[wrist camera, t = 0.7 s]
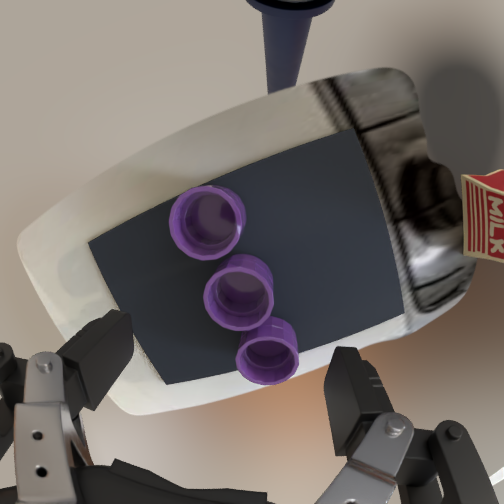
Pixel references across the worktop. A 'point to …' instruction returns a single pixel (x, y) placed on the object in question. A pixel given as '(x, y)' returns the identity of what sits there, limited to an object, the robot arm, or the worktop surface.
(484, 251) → the milk carton
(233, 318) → the purple hollow cup
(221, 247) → the purple hollow cylinder
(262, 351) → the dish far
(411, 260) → the worktop surface
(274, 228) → the mat
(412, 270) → the worktop surface
